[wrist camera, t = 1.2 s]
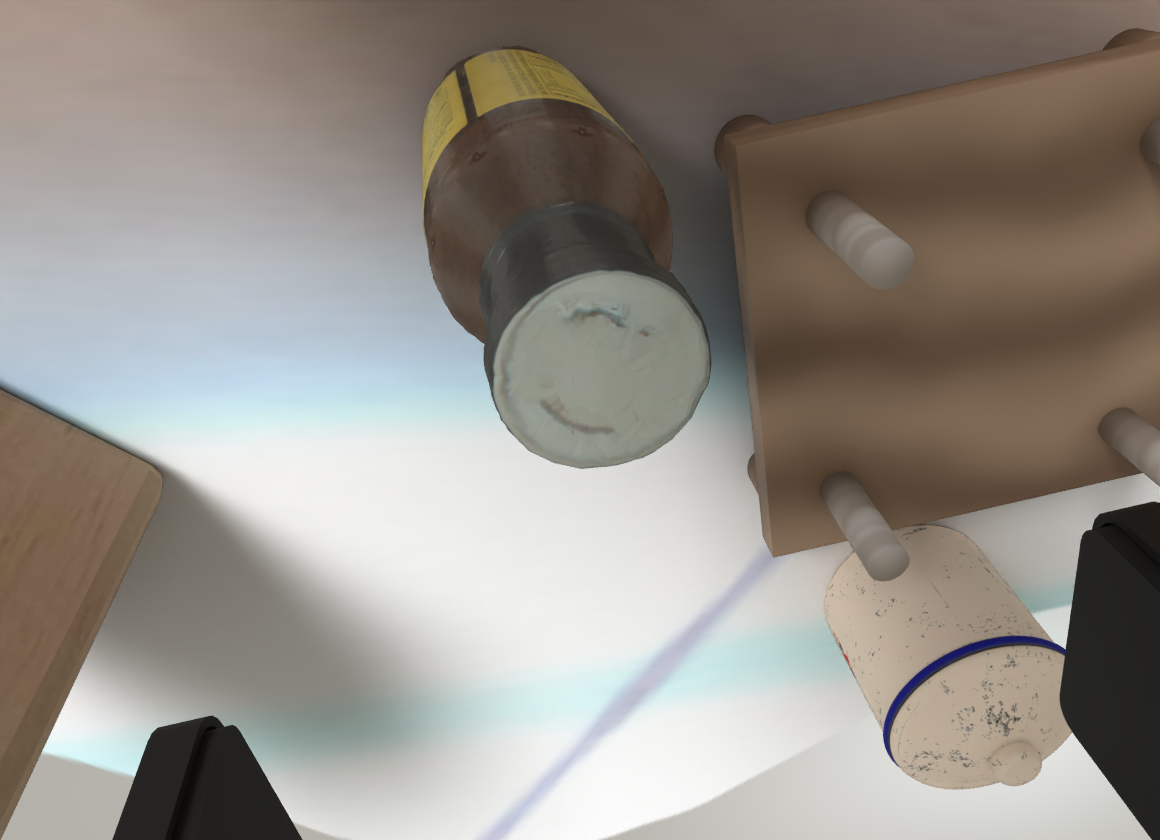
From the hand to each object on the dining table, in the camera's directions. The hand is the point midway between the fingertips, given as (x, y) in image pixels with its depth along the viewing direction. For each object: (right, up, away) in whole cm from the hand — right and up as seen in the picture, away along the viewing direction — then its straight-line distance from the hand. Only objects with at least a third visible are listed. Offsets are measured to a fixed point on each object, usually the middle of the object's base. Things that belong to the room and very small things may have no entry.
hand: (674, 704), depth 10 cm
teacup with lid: (+17, -6, +38) cm, 42 cm away
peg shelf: (+14, +9, +28) cm, 33 cm away
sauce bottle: (-3, +14, +23) cm, 27 cm away
